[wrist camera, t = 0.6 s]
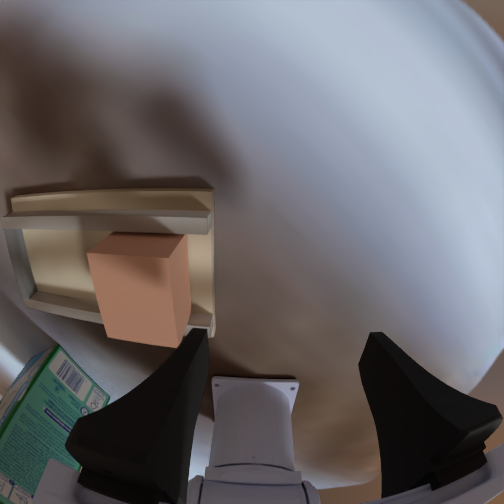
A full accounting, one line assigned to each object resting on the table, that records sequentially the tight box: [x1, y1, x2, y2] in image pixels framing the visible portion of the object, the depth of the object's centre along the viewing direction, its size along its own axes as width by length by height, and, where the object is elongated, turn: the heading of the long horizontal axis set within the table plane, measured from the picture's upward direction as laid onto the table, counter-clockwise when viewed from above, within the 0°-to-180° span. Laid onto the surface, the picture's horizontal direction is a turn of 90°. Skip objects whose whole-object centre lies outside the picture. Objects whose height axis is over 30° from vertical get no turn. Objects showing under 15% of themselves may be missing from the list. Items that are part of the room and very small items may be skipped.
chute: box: [2, 188, 215, 338], centre depth 18 cm, size 11×18×2 cm, turn 87°
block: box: [87, 231, 192, 348], centre depth 17 cm, size 6×5×4 cm
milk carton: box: [0, 345, 110, 504], centre depth 15 cm, size 9×9×25 cm
